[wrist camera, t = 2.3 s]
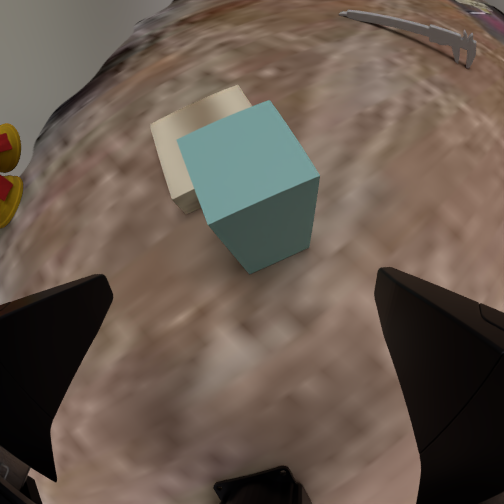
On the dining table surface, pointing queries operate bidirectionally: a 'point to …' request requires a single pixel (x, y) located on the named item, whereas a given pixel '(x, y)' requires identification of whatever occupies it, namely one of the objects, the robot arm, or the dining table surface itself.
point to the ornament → (5, 160)
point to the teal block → (253, 185)
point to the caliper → (422, 32)
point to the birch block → (184, 124)
